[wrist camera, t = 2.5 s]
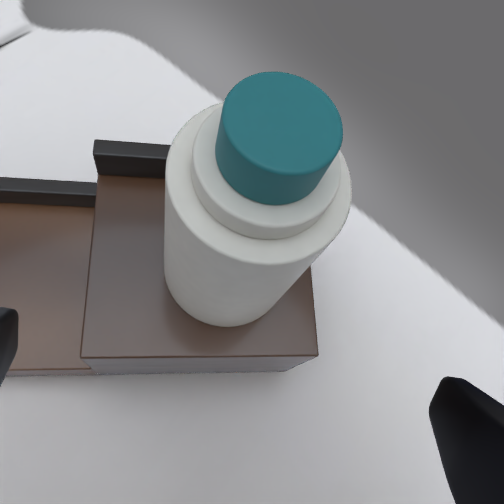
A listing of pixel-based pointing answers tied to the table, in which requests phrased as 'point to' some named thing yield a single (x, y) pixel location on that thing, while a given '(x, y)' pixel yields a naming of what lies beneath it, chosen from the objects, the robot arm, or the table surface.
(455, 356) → the table surface
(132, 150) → the tray
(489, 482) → the robot arm
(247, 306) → the bottle
